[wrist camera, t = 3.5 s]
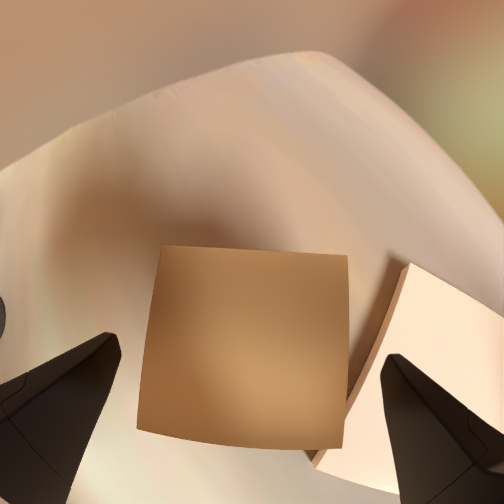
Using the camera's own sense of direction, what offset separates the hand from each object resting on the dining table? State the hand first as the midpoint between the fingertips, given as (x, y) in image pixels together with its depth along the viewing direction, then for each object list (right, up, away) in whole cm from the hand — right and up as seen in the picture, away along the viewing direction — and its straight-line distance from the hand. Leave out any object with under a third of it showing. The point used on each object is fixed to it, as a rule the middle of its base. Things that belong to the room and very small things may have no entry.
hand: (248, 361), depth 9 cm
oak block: (0, -3, +8) cm, 9 cm away
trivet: (+13, -7, +6) cm, 16 cm away
